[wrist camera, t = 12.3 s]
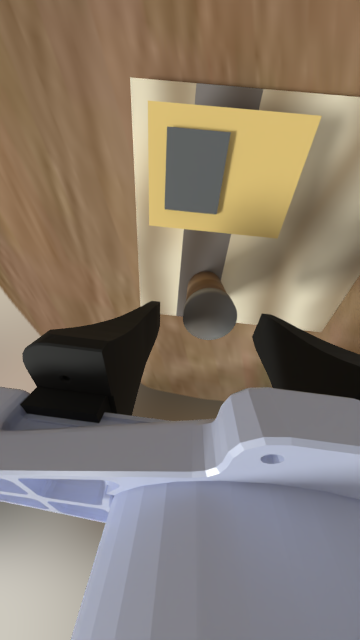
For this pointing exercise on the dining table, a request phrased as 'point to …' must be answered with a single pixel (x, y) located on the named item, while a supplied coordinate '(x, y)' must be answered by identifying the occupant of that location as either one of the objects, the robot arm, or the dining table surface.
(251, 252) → the panel
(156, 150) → the stud finder
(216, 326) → the brown cylindrical piece
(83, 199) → the dining table surface
